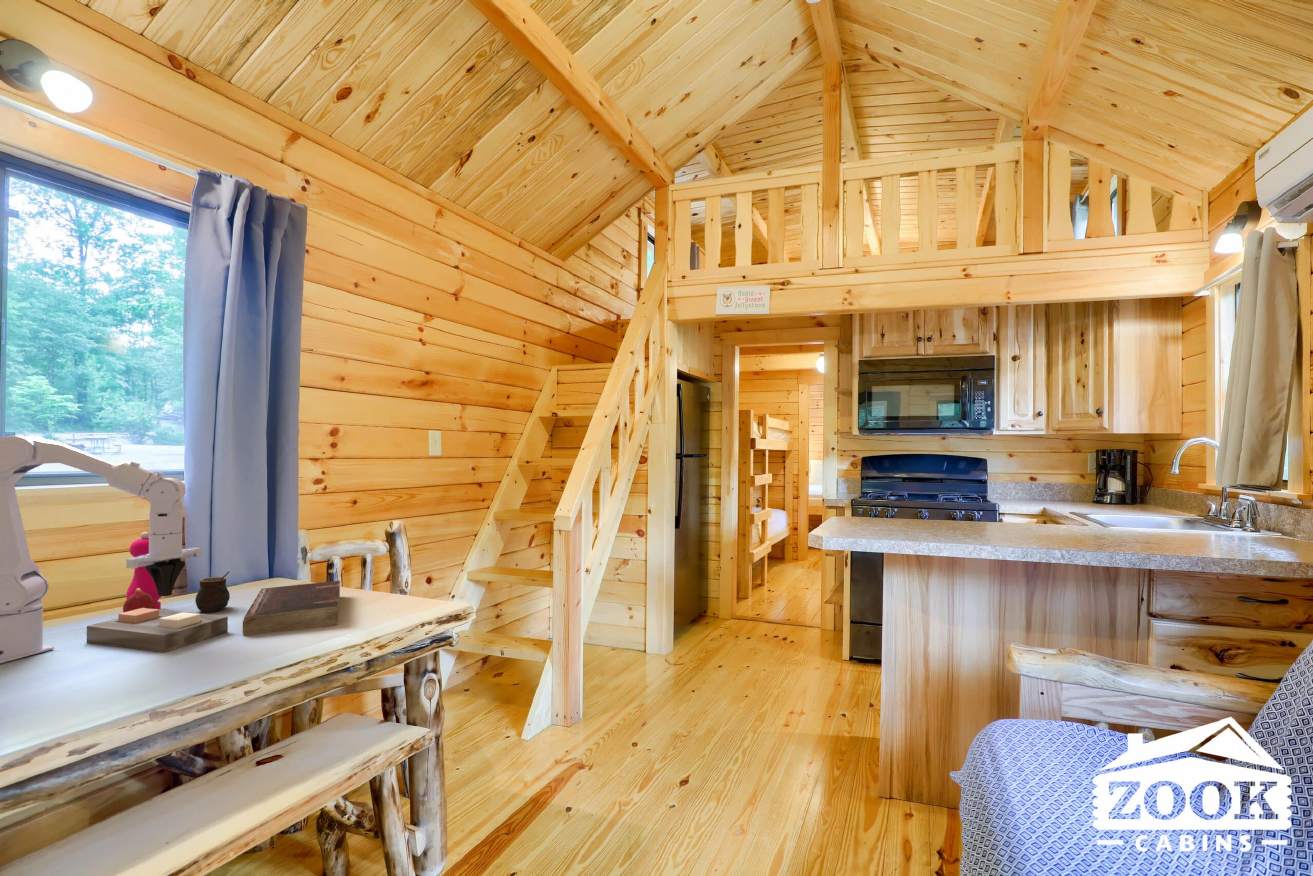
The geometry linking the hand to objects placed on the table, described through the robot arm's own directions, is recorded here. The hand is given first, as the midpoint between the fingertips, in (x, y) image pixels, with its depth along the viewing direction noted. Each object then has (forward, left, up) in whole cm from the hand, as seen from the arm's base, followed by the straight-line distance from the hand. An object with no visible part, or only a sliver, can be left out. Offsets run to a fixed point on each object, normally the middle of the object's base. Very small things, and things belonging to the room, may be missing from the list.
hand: (165, 595), depth 137 cm
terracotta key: (+1, +8, -7) cm, 11 cm away
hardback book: (+24, -12, -10) cm, 28 cm away
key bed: (+1, +2, -10) cm, 10 cm away
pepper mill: (+15, +26, -10) cm, 32 cm away
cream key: (+1, -4, -7) cm, 8 cm away
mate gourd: (+21, +11, -10) cm, 25 cm away
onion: (+8, +18, -10) cm, 22 cm away
